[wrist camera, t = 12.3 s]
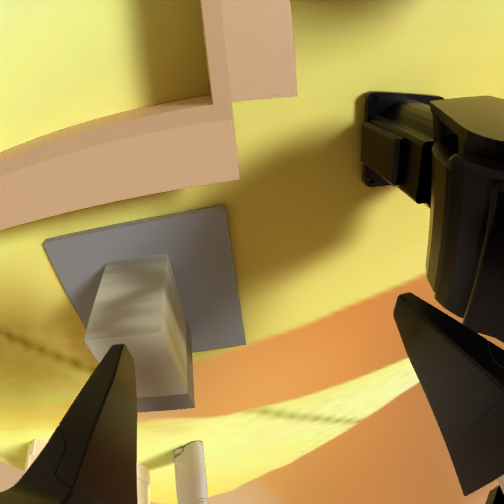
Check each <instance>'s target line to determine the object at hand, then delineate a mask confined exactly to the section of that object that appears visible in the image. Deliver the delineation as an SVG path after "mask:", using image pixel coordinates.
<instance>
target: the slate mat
mask: <svg viewBox="0 0 504 504" xmlns="http://www.w3.org/2000/svg"><path fill="white" fill-rule="evenodd" d="M43 245H44V247H45V250H46V252H47V254H48V256H49V258H50V261H51V263H52V265H53V267H54V269H55V271H56V273H57V275H58V277H59V279H60V281H61V283H62V285H63V287H64V289H65V291H66V293H67V295H68V297H69V299H70V300H71V302H72V304H73V306H74V308H75V310H76V311H77V313H78V315H79V317H80V318H81V320H82V322H83V324H84V325H85V327H86V329H87V326H88V323H89V319H90V315H91V312H92V308H93V305H94V302H95V298H96V295H97V292H98V289H99V285H100V282H101V279H102V276H103V273H104V270H105V267H106V264H107V263H110V262H116V261H122V260H128V259H134V258H140V257H146V256H152V255H158V254H165V253H167V254H168V258H169V261H170V265H171V268H172V272H173V275H174V279H175V282H176V286H177V289H178V292H179V296H180V299H181V302H182V306H183V309H184V312H185V315H186V318H187V322H188V325H189V328H190V331H191V341H192V353H193V352H200V351H208V350H214V349H221V348H228V347H234V346H240V345H246V340H245V334H244V328H243V322H242V315H241V309H240V302H239V296H238V289H237V283H236V276H235V269H234V263H233V256H232V249H231V242H230V236H229V229H228V222H227V215H226V208H225V205H222V206H216V207H209V208H203V209H197V210H191V211H185V212H179V213H174V214H168V215H162V216H157V217H151V218H146V219H140V220H135V221H130V222H125V223H119V224H114V225H109V226H104V227H99V228H95V229H90V230H85V231H80V232H75V233H71V234H66V235H62V236H57V237H53V238H48V239H45V241H44V243H43Z"/></svg>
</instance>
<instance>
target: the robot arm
mask: <svg viewBox="0 0 504 504" xmlns="http://www.w3.org/2000/svg"><path fill="white" fill-rule="evenodd" d="M372 96H375V101H374V102H372V101H371V98H372ZM361 161H362V162H363V171H362V181H363V183H364V184H365V185H366V186H368V187H376V186H386V185H392V186H394V187H395V186H397V187H398V188H399V189H400V190H402V191H403V192H404V193H405V194H407V195H408V196H409V197H410V198H411V199H413V200H414V201H415V202H416V203H418V204H421V203H424V204H425V205H426V206H427V207H429V208H430V209H431V210H430V226H429V238H428V249H427V258H426V274H427V279H428V281H429V283H430V285H431V287H432V289H433V291H434V292H435V299H436V300H437V301H438V302H439V303H440V304H441V305H442V306H443V307H444V308H445V309H447V310H449V311H450V312H452V313H453V314H455V315H457V316H459V317H461V318H464V319H463V322H462V324H461V323H460V322H458V321H457V320H455V319H453V318H452V317H450V316H448V315H447V314H445V313H443V312H442V311H440V310H439V309H437V308H435V307H434V306H432V305H430V304H428V303H427V302H425V301H424V300H422V299H420V298H419V297H417V296H415V295H414V294H412V293H409V292H408V293H404V294H400V295H399V296H398V298H397V302H396V305H395V308H394V319H395V322H396V324H397V327H398V330H399V333H400V335H401V338H402V341H403V344H404V347H405V349H406V352H407V355H408V357H409V359H410V361H411V364H412V366H413V368H414V370H415V372H416V374H417V377H418V379H419V381H420V383H421V385H422V388H423V390H424V392H425V394H426V397H427V399H428V401H429V404H430V406H431V408H432V411H433V413H434V416H435V418H436V420H437V423H438V425H439V428H440V430H441V433H442V435H443V438H444V441H445V443H446V446H447V448H448V451H449V454H450V456H451V459H452V462H453V465H454V468H455V470H456V473H457V476H458V479H459V482H460V485H461V488H462V491H463V494H464V496H467V495H469V494H471V493H473V492H474V491H476V490H478V489H480V488H481V487H484V486H485V485H487V484H489V483H490V482H492V481H494V480H495V479H497V480H498V482H499V485H498V486H496V487H495V488H494V489H492V490H491V491H490V492H489V495H488V498H487V501H486V504H504V350H503V349H501V348H499V347H498V346H496V345H495V344H493V343H492V342H490V341H487V339H485V338H484V337H482V336H480V335H479V334H477V333H481V334H485V335H488V336H491V337H494V338H497V339H498V340H500V341H502V342H504V99H500V98H496V97H492V96H476V97H464V98H453V99H444V98H443V97H440V96H435V95H426V94H415V93H401V92H384V91H369V92H368V93H366V95H365V116H364V123H363V124H362V146H361ZM369 177H372V178H371V180H370V181H368V179H369ZM59 425H60V426H58V427H57V428H56V430H55V432H54V433H53V435H52V436H51V438H50V439H49V441H48V442H47V444H46V445H45V447H44V448H43V450H42V451H41V452H40V454H39V455H38V456H37V458H36V459H35V460H34V462H33V463H32V464H31V466H30V467H29V468H28V470H27V471H26V472H25V474H24V475H23V476H22V478H21V479H20V480H19V481H18V482H17V483H16V484H15V485H14V486H13V487H11V488H9V489H8V490H5V491H3V492H0V504H138V499H137V392H136V376H135V362H134V359H133V357H132V355H131V354H130V352H129V350H128V348H127V347H126V345H125V344H114V345H112V346H111V347H110V349H109V350H108V351H107V353H106V354H105V356H104V357H103V359H102V360H101V362H100V363H99V365H98V366H97V367H96V369H95V370H94V372H93V373H92V375H91V376H90V378H89V379H88V381H87V382H86V384H85V385H84V387H83V388H82V390H81V391H80V393H79V394H78V396H77V397H76V399H75V400H74V402H73V403H72V405H71V407H70V408H69V410H68V411H67V413H66V414H65V416H64V417H63V419H62V421H61V422H60V424H59Z"/></svg>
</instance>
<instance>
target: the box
mask: <svg viewBox="0 0 504 504" xmlns="http://www.w3.org/2000/svg"><path fill="white" fill-rule="evenodd" d="M84 342H85V343H86V345H87V346H88V348H89V349H90V351H91V353H92V354H93V356H94V357H95V359H96V360H97V362H98V363H100V362H101V360H102V359H103V357H104V356H105V354H106V353H107V351H108V350H109V349H110V347H111V346H112V345H114V344H125V345H126V347H127V348H128V350H129V352H130V354H131V355H132V357H133V359H134V362H135V376H136V392H137V412H150V411H163V410H176V409H187V408H195V404H194V388H193V387H194V386H193V366H192V341H191V331H190V328H189V325H188V322H187V318H186V315H185V312H184V309H183V306H182V302H181V299H180V296H179V292H178V289H177V286H176V282H175V279H174V275H173V272H172V268H171V265H170V261H169V258H168V254H167V253H165V254H158V255H152V256H146V257H140V258H134V259H128V260H122V261H116V262H110V263H107V264H106V267H105V270H104V273H103V276H102V279H101V282H100V285H99V289H98V292H97V295H96V298H95V302H94V305H93V308H92V312H91V315H90V319H89V323H88V326H87V330H86V334H85V337H84Z"/></svg>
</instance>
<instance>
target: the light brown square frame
mask: <svg viewBox="0 0 504 504" xmlns="http://www.w3.org/2000/svg"><path fill="white" fill-rule="evenodd" d="M199 1H200V10H201V19H202V28H203V37H204V46H205V55H206V63H207V72H208V80H209V88H210V95H209V96H203V97H196V98H190V99H184V100H178V101H173V102H167V103H162V104H157V105H153V106H148V107H143V108H139V109H134V110H130V111H126V112H122V113H118V114H114V115H110V116H106V117H103V118H99V119H95V120H92V121H88V122H85V123H82V124H78V125H75V126H72V127H69V128H65V129H62V130H59V131H56V132H53V133H50V134H48V135H45V136H42V137H39V138H36V139H34V140H31V141H28V142H26V143H23V144H21V145H18V146H15V147H13V148H11V149H8V150H6V151H3V152H1V153H0V230H3V229H6V228H10V227H13V226H17V225H20V224H24V223H28V222H32V221H35V220H39V219H43V218H47V217H51V216H55V215H59V214H63V213H67V212H71V211H75V210H79V209H84V208H88V207H92V206H97V205H101V204H106V203H111V202H115V201H120V200H125V199H130V198H135V197H140V196H145V195H150V194H155V193H160V192H166V191H171V190H177V189H183V188H189V187H194V186H201V185H207V184H213V183H219V182H226V181H233V180H240V175H239V166H238V157H237V148H236V139H235V130H234V121H233V111H232V102H237V101H246V100H256V99H267V98H280V97H296V96H297V81H296V65H295V51H294V38H293V26H292V15H291V4H290V0H199Z"/></svg>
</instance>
